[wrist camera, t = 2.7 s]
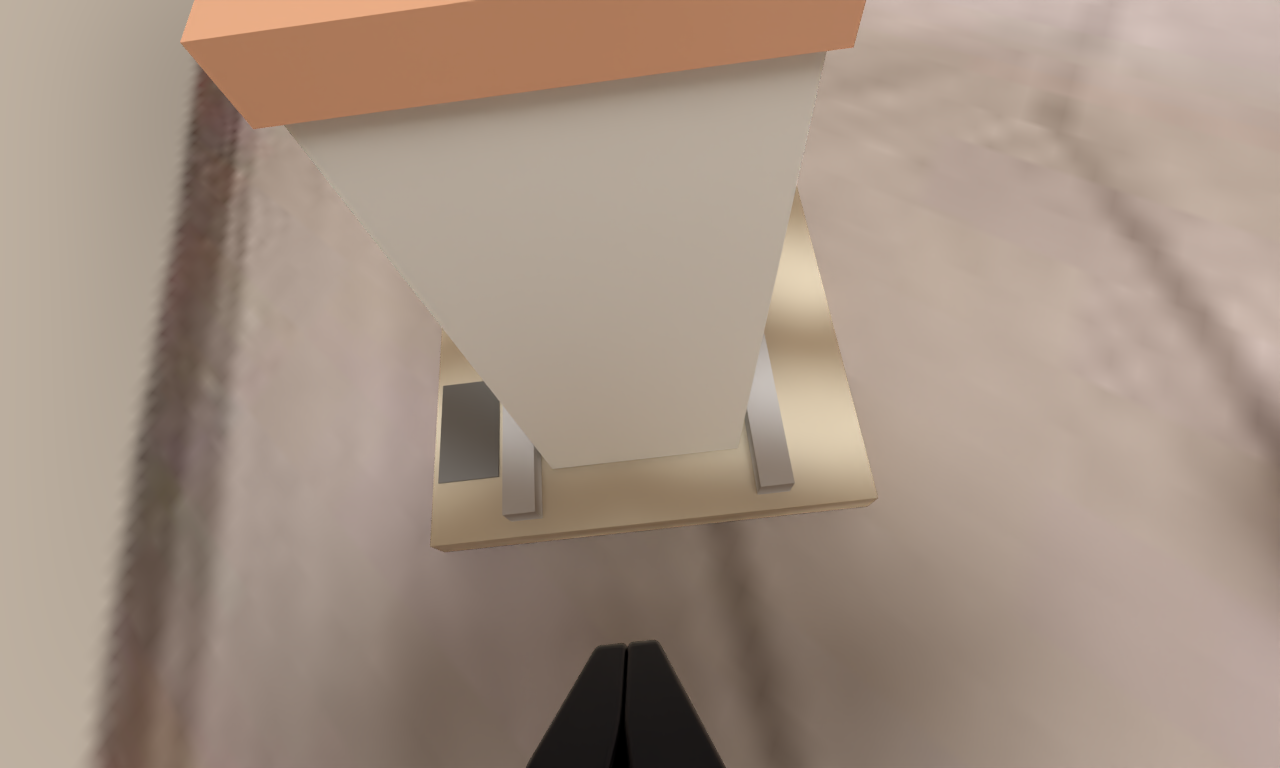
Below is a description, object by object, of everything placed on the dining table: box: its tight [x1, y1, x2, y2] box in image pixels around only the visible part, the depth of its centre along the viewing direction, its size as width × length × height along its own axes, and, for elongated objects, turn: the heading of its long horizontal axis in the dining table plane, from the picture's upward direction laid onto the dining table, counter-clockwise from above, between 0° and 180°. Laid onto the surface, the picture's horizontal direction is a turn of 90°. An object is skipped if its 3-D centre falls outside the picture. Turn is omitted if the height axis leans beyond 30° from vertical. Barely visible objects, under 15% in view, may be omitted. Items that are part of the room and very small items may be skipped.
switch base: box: [430, 186, 878, 552], centre depth 21 cm, size 13×14×3 cm
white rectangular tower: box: [181, 0, 866, 469], centre depth 13 cm, size 4×6×15 cm
